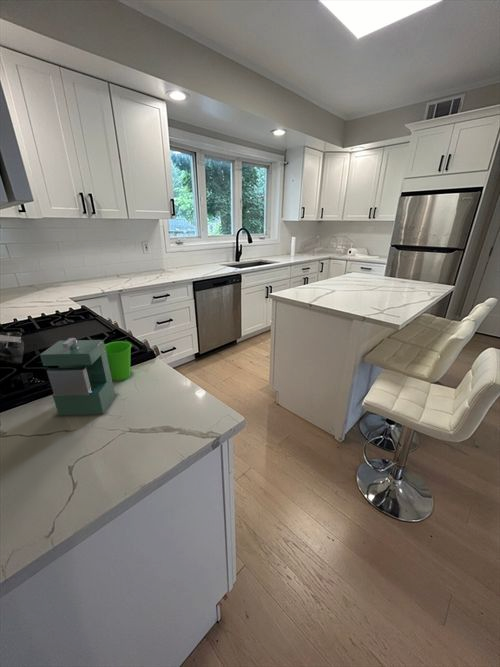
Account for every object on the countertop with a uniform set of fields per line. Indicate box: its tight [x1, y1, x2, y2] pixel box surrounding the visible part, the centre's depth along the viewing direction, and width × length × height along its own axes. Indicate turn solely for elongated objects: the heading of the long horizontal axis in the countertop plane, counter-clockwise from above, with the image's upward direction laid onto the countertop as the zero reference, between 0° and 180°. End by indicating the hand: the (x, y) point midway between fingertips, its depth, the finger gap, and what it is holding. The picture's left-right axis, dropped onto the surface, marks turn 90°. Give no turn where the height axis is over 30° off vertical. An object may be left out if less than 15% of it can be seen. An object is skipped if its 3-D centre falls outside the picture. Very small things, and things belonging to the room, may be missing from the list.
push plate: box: [46, 367, 92, 396], centre depth 66 cm, size 8×2×7 cm, turn 94°
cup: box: [104, 340, 133, 382], centre depth 86 cm, size 9×9×11 cm
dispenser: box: [39, 337, 116, 416], centre depth 71 cm, size 11×8×20 cm
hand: (18, 357), depth 58 cm, fingers closed
